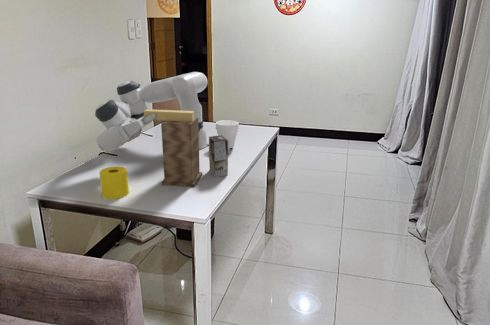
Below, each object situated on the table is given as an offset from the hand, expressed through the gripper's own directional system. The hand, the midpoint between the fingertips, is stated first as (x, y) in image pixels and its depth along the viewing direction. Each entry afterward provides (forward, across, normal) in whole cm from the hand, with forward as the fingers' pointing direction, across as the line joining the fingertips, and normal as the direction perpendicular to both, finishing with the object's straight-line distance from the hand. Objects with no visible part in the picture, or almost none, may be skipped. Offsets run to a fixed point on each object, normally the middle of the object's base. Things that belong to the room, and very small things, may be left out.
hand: (157, 113), depth 164 cm
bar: (+3, 0, -4) cm, 5 cm away
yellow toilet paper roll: (-25, +18, -19) cm, 36 cm away
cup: (+4, -49, -35) cm, 60 cm away
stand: (-6, 0, -29) cm, 30 cm away
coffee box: (+6, -10, -36) cm, 38 cm away
